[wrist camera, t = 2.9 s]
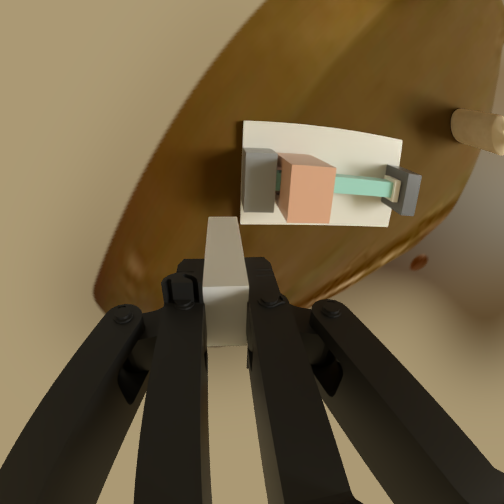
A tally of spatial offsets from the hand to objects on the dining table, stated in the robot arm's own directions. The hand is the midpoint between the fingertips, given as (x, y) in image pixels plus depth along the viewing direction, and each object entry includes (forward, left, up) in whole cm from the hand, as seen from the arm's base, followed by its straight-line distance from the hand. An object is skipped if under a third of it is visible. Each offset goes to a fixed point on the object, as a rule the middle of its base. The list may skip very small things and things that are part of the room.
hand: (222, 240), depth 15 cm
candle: (-11, +34, -18) cm, 40 cm away
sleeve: (0, +8, -17) cm, 18 cm away
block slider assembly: (0, +12, -18) cm, 22 cm away
